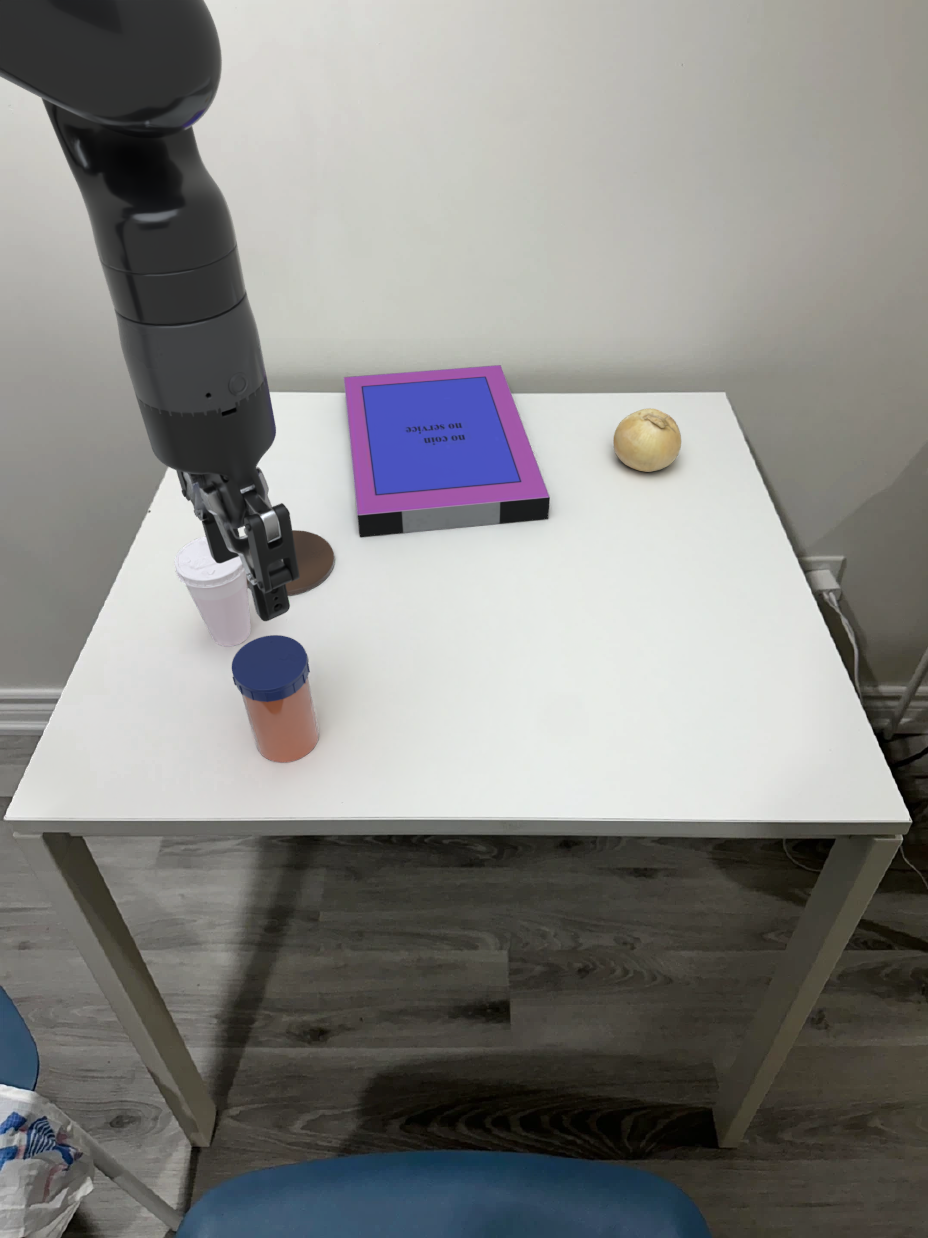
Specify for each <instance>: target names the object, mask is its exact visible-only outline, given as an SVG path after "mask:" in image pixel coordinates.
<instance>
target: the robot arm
mask: <svg viewBox="0 0 928 1238" xmlns="http://www.w3.org/2000/svg"><path fill="white" fill-rule="evenodd" d="M208 7H209V6H208V5H207V3H206V2H205V0H0V78H2V79H4V80H5V81H8V82H10V83H12V84H14V85H15V86H17V87H19V88H22V89H23V90H25V91H27V92H29V93H31V94H33V95H35V96H37V97H40V98H41V101H42V103H43V106H44V108H45V112H46V114H47V117H48V119H49V122H50V124H51V126H52V129H53V131H54V133H55V136H56V139H57V140H58V143H59V145H60V148H61V150H62V154H63V155H64V158H65V160H66V162H67V165H68V167H69V169H70V171H71V174H72V176H73V179H74V180H75V183H76V185H77V187H78V189H79V192H80V194H81V197H82V200H83V203H84V206H85V209H86V212H87V215H88V218H89V222H90V227H91V231H92V237H93V241H94V245H95V248H96V252H97V256H98V259H99V263H100V266H101V269H102V273H103V277H104V279H105V283H106V286H107V290H108V292H109V296H110V299H111V302H112V305H113V308H114V314H115V318H116V323H117V328H118V335H119V336H118V337H119V342H120V347H121V351H122V355H123V358H124V362H125V365H126V369H127V371H128V375H129V379H130V382H131V385H132V389H133V391H134V395H135V398H136V401H137V404H138V408H139V411H140V414H141V418H142V421H143V424H144V427H145V430H146V433H147V437H148V440H149V444H150V446H151V450H152V453H153V455H155V457H156V459H158V461H160V462H161V463H162V464H163V465H164V466H166V467H168V468H170V469H173V470H175V471H176V475H177V477H178V478H177V479H178V481H179V485H180V489H181V494H182V496H183V497H184V498H185V500H187V502H191V504H192V506H193V513H194V516H195V517H196V518H197V519H198V520H199V521H201V525H202V528H203V532H204V536H206V539H207V542H208V546H209V550H210V553H211V556H212V558H213V559H214V560H215V561H216V562H217V563H224V562H226V561H228V560H231V559H233V558H236V557H238V556H239V557H240V559H241V562H242V564H243V567H244V569H245V571H246V576H247V579H248V580H249V584H250V588H251V589H250V588H249V589H250V592H251V597H252V600H253V604H254V608H255V613H256V615H257V616H258V617H259V618H260V620H261V621H262V622H269V621H271V620H274V619H275V618H278V617H280V616H282V615H284V614H286V613H288V612H289V610H290V609H291V608H290V607H291V604H290V599H289V596H288V594H287V589H286V583H289V582H291V581H295V580H297V579H299V578H300V576H299V569H298V563H297V557H296V550H295V544H294V538H293V532H292V530H293V526H292V520H291V513H290V510H289V509H288V508H287V506H286V505H285V504H284V503H282V502H280V503H278V504H275V505H273V506H272V502H271V501H270V498H269V490H270V488H269V485H268V483H267V480H266V477H265V475H264V473H263V471H262V469H261V468H260V467H259V466H258V464H259V462H260V461H261V459H262V458H263V457H264V456H265V454H266V453H267V452H268V451H269V450H270V449H271V447H272V446H273V444H274V441H275V439H276V436H277V426H276V420H275V415H274V414H275V413H274V410H273V403H272V398H271V393H270V392H271V391H270V388H269V382H268V377H267V372H266V370H267V369H266V366H265V361H264V355H263V349H262V344H261V337H260V333H259V329H258V325H257V321H256V318H255V315H254V313H253V309H252V306H251V303H250V300H249V297H248V292H247V289H246V283H245V278H244V272H243V268H242V261H241V257H240V256H241V255H240V251H239V246H238V240H237V235H236V230H235V226H234V220H233V216H232V214H231V209H230V208H229V205H228V202H227V200H226V197H225V195H224V193H223V192H222V190H221V188H220V187H219V185H218V183H217V182H216V181H215V179H214V178H213V176H212V175H211V174H210V172H209V171H208V169H207V167H206V164H205V163H204V161H203V158H202V156H201V154H200V150H199V147H198V143H197V139H196V135H195V131H194V129H193V128H194V127H193V126H194V125H196V124H197V123H198V122H199V121H200V120H201V119H202V118H203V117H204V116H205V115H206V113H207V112H208V111H209V109H210V108H211V107H212V104H213V103H214V100H215V99H216V97H217V93H218V90H219V88H220V83H221V79H222V70H223V57H222V56H223V55H222V47H221V42H220V37H219V33H218V29H217V27H216V24H215V20H214V18H213V16H212V14H211V11H210V9H209V8H208ZM202 520H203V521H202ZM243 527H244V528H243ZM241 528H243V532H244V534H245V535H242V536H240V532H239V529H241ZM250 551H251V554H250ZM251 555H252V556H251Z"/></svg>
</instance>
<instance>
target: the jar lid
mask: <svg viewBox="0 0 928 1238" xmlns="http://www.w3.org/2000/svg"><path fill="white" fill-rule="evenodd" d="M231 673H232V681H233V683H234V686H235V687H236V688H237V690H238V691H239V693H240V695H242V694H243V695H244V696H246V697H248V698H250V699H252V700H256V701H262V702H270V701H277V700H281V699H284V698H286V697H289V696H290V695H292V694H294V693H296V692H297V691H298V690H299V689H300V688H301V687H302V686H303V685H304V683H306V680H307V678H308V679H309V674H310V673H311V670H310V664H309V657H308V653H307V651H306V648H305V647H304V646H303V645H302V644H301V643H300V642H299V641H298V640H296V639H294V638H293V637H289V636H286V635H281V634H279V635H278V634H273V635H271V634H270V635H264V636H260V637H257V638H254V639H252V640H250V641H248V642H247V643H245V644H244V645H243V646H241V648H239V649H238V650H237V652H236V653H235V655H234V657H233V658H232V662H231Z"/></svg>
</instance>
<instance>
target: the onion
mask: <svg viewBox="0 0 928 1238" xmlns="http://www.w3.org/2000/svg"><path fill="white" fill-rule="evenodd" d="M681 434H682V433H681V430H680V428H679V426H678V423H677V422H676V420H675V419H674V418H673V417H672V416H671V415H669V414H667V413H666V412H664V411H662V410H659V409H657V408H651V407H649V408H643V409H640V410H636V411H634V412H632V413H630V414H628V415H626V416H625V417H624V418H623V419H622V420H621V421H619V423H618V424H617V426H616V428H615V430H614V434H613V440H612V441H613V451H614V453H615V455H616V456H617V458H618V459H619V461H621V462H622V463H623V464H624V465H625V466H626V467H629V468H631V469H633V470H636V471H639V472H646V473H650V472H651V473H652V472H656V471H660V470H662V469H664V468H667V467H669V466H670V465H671V464H672V463H673V462H674V461H675V460H676V458H677V457H678V456H679V454H680V451H681V447H682V435H681Z"/></svg>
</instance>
